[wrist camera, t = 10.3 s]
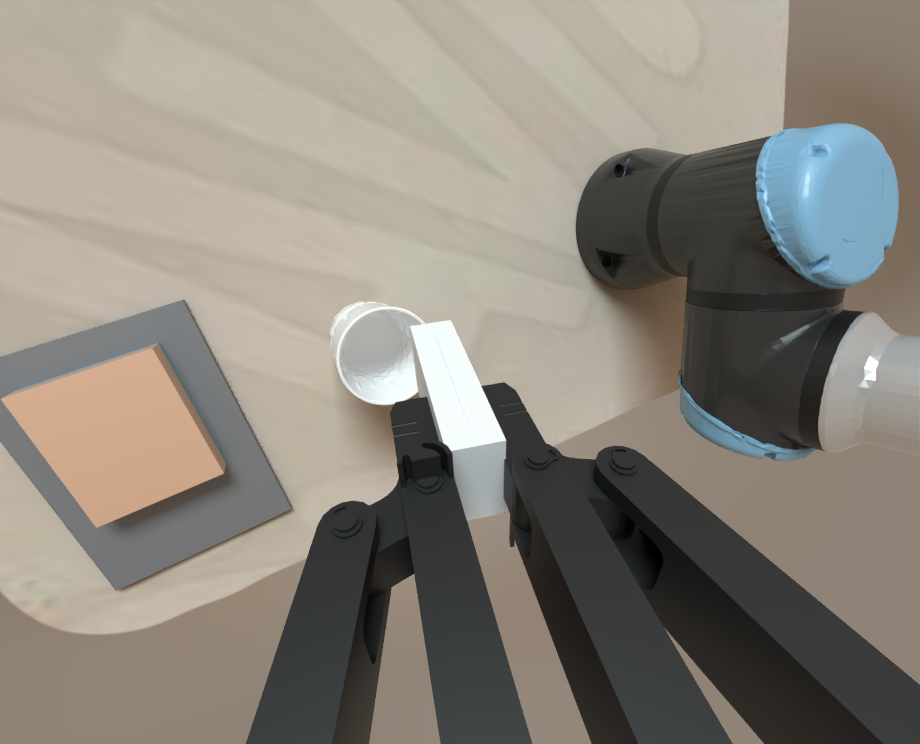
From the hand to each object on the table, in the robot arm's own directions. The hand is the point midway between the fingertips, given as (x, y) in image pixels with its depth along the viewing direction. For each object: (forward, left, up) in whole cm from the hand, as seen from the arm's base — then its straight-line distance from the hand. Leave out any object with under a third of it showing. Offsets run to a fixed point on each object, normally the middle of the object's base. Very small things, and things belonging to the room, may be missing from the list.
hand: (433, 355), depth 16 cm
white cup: (-3, +4, -28) cm, 28 cm away
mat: (+16, +14, -28) cm, 35 cm away
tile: (+15, +17, -26) cm, 34 cm away
